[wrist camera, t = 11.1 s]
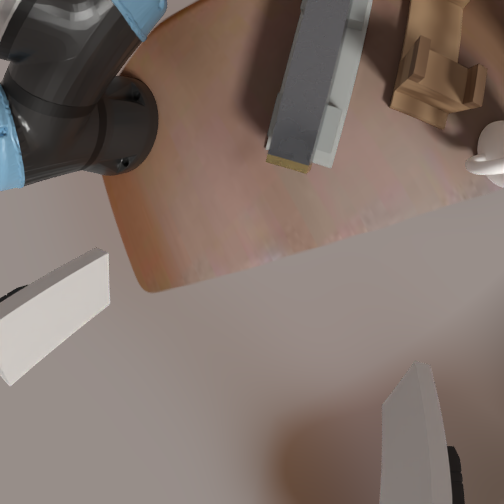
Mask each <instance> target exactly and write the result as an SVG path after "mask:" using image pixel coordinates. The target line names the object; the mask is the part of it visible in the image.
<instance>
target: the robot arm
mask: <svg viewBox="0 0 504 504" xmlns="http://www.w3.org/2000/svg"><path fill="white" fill-rule="evenodd" d="M166 9H167V0H0V59H4V60H7V61H10V64H9V66H8V68H7V71H6V73H5V75H4V78H3V80H2V82H1V83H0V191H3V190H8V189H12V188H16V187H17V188H22V187H23V186H26V185H29V184H33V183H36V182H39V181H42V180H46V179H50V178H53V177H57V176H60V175H64V174H68V173H72V172H76V171H80V170H84V171H88V172H93V173H98V174H102V175H110V176H111V175H118V174H122V173H126V172H129V171H131V170H133V169H135V168H136V167H138V166H139V165H140V164H141V163H142V162H143V161H144V160H145V158H146V157H147V156H148V154H149V153H150V151H151V149H152V147H153V144H154V142H155V138H156V135H157V129H158V110H157V105H156V101H155V99H154V96H153V94H152V93H151V91H150V90H149V88H148V87H147V86H146V85H145V84H144V83H143V82H141V81H139V80H137V79H135V78H131V77H125V76H116V75H117V73H118V72H119V71H120V69H121V68H122V66H123V65H124V64H125V62H126V61H127V60H128V58H129V57H130V56H131V55H132V53H133V52H134V51H135V50H136V48H137V47H138V46H139V45H140V44H141V42H144V41H145V40H146V39H147V35H148V34H149V32H150V31H151V30H152V28H153V27H154V26H155V25H156V23H157V22H158V21H159V20H160V18H161V17H162V16H163V15H164V13H165V11H166ZM108 305H110V292H109V253H108V252H106V251H103V250H101V249H99V248H94V249H92V250H90V251H88V252H87V253H85V254H83V255H81V256H79V257H77V258H76V259H74V260H72V261H70V262H68V263H66V264H64V265H63V266H61V267H59V268H57V269H56V270H54V271H52V272H50V273H49V274H47V275H45V276H43V277H42V278H40V279H38V280H37V281H35V282H33V283H31V284H30V285H26V286H23V287H19V288H16V289H15V290H13V291H11V292H10V293H8V294H7V296H6V295H5V296H3V297H1V298H0V376H1V377H2V378H3V379H4V381H5V382H6V383H7V384H8V385H9V386H11V385H12V384H13V383H15V382H16V381H17V380H18V379H19V378H20V377H21V376H23V375H24V374H25V373H26V372H27V371H29V370H30V369H31V368H32V367H33V366H34V365H36V364H37V363H38V362H39V361H40V360H41V359H42V358H44V357H45V356H46V355H47V354H49V353H50V352H51V351H52V350H53V349H55V348H56V347H57V346H58V345H59V344H61V343H62V342H63V341H64V340H66V339H67V338H68V337H69V336H70V335H72V334H73V333H74V332H75V331H77V330H78V329H79V328H80V327H82V326H83V325H84V324H85V323H87V322H88V321H89V320H90V319H92V318H93V317H94V316H96V315H97V314H98V313H99V312H101V311H102V310H103V309H104V308H106V307H107V306H108ZM379 504H465V503H464V491H463V484H462V474H461V464H460V458H459V456H458V454H457V452H456V450H455V448H454V447H452V446H447V444H446V438H445V431H444V426H443V420H442V414H441V409H440V405H439V400H438V395H437V391H436V386H435V382H434V378H433V374H432V370H431V366H430V365H429V364H425V363H421V362H417V361H414V363H413V364H412V366H411V367H410V369H409V370H408V371H407V373H406V374H405V376H404V377H403V378H402V380H401V381H400V382H399V384H398V385H397V386H396V388H395V389H394V390H393V392H392V393H391V394H390V396H389V397H388V398H387V399H386V401H385V402H384V403H383V404H382V469H381V489H380V501H379Z"/></svg>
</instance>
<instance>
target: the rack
mask: <svg viewBox="0 0 504 504" xmlns="http://www.w3.org/2000/svg"><path fill="white" fill-rule="evenodd" d="M469 1H470V0H410V6H409V13H408V20H407V26H406V32H405V37H404V43H403V48H402V53H401V58H400V63H399V68H398V73H397V77H396V82H395V86H394V90H393V95H392V99H391V103H390V107H389V108H392V109H394V110H397V111H399V112H402V113H405V114H407V115H409V116H412V117H414V118H417V119H419V120H421V121H423V122H426V123H428V124H430V125H432V126H435V127H437V128H439V129H444V128H445V124H446V120H447V116H448V114H449V113H454V112H458V111H463V110H468V109H473V108H478V107H482V103H483V97H484V91H485V84H486V77H487V68H485V67H484V66H482V65H480V64H477V65H475V66H473V67H471V68H469V69H468V68H466V67H464V66H462V65H460V64H458V56H459V48H460V40H461V29H462V16H463V8H464V7H465V6H466V5H467V3H468V2H469Z"/></svg>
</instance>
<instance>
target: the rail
mask: <svg viewBox="0 0 504 504" xmlns="http://www.w3.org/2000/svg"><path fill="white" fill-rule="evenodd" d="M352 4H353V0H307V4H306V8H305V11H304V15H303V19H302V23H301V27H300V30H299V34H298V38H297V42H296V46H295V49H294V53H293V57H292V61H291V65H290V69H289V73H288V76H287V80H286V84H285V88H284V92H283V96H282V100H281V104H280V108H279V112H278V115H277V119H276V123H275V127H274V131H273V135H272V139H271V143H270V147H269V151H268V155H267V159H266V162H268V163H271V164H275V165H278V166H282V167H285V168H289V169H292V170H295V171H299V172H302V173H305V174H307V173H308V172H309V171H310V170H311V166H312V162H313V159H314V155H315V152H316V148H317V144H318V141H319V137H320V133H321V130H322V126H323V122H324V119H325V115H326V111H327V107H328V103H329V99H330V96H331V92H332V88H333V84H334V80H335V76H336V72H337V68H338V64H339V60H340V56H341V51H342V47H343V43H344V39H345V35H346V30H347V26H348V21H349V17H350V13H351V8H352Z"/></svg>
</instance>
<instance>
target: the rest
mask: <svg viewBox="0 0 504 504" xmlns="http://www.w3.org/2000/svg"><path fill="white" fill-rule="evenodd" d="M372 1H373V0H353V4H352V8H351V13H350V17H349V21H348V26H347V30H346V35H345V39H344V43H343V47H342V51H341V56H340V60H339V64H338V68H337V72H336V76H335V80H334V84H333V88H332V92H331V96H330V99H329V103H328V107H327V111H326V115H325V119H324V122H323V126H322V130H321V133H320V137H319V141H318V144H317V148H316V152H315V155H314V159H313V162H312V163H316V164H319V165H322V166H325V167H328V168H332V164H333V161H334V157H335V154H336V150H337V147H338V143H339V139H340V136H341V132H342V129H343V125H344V121H345V117H346V114H347V110H348V106H349V102H350V98H351V94H352V90H353V86H354V82H355V78H356V74H357V70H358V66H359V62H360V57H361V53H362V48H363V44H364V40H365V35H366V30H367V26H368V21H369V16H370V11H371V6H372ZM306 4H307V0H302V3H301V7H300V9H301V14H300V17H299V21H298V25H297V29H296V32H295V36H294V40H293V44H292V48H291V51H290V55H289V59H288V63H287V67H286V71H285V75H284V78H283V82H282V86H281V90H280V93H278V95H277V98H276V102H275V106H274V110H273V114H272V118H271V122H270V126H269V130H268V134H267V136H269V137H268V141H267V145H266V149H267V150H269V147H270V143H271V139H272V135H273V131H274V127H275V123H276V119H277V115H278V112H279V108H280V104H281V100H282V96H283V92H284V88H285V84H286V80H287V76H288V73H289V69H290V65H291V61H292V57H293V53H294V49H295V46H296V42H297V38H298V34H299V30H300V27H301V23H302V19H303V15H304V11H305V8H306Z"/></svg>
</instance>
